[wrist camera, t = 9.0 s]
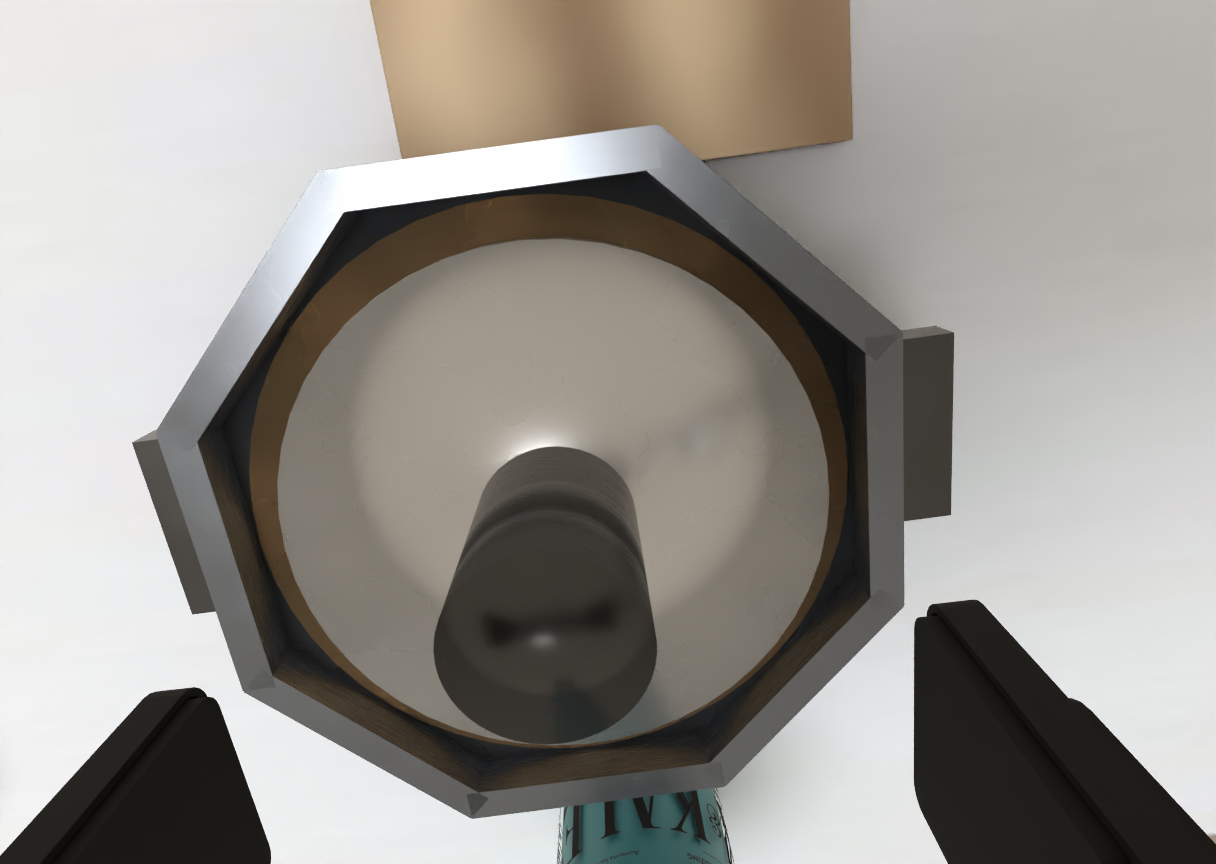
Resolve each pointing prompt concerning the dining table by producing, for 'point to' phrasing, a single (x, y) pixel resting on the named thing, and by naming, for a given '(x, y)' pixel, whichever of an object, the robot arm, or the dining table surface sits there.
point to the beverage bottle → (646, 831)
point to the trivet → (617, 72)
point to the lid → (553, 491)
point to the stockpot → (499, 211)
